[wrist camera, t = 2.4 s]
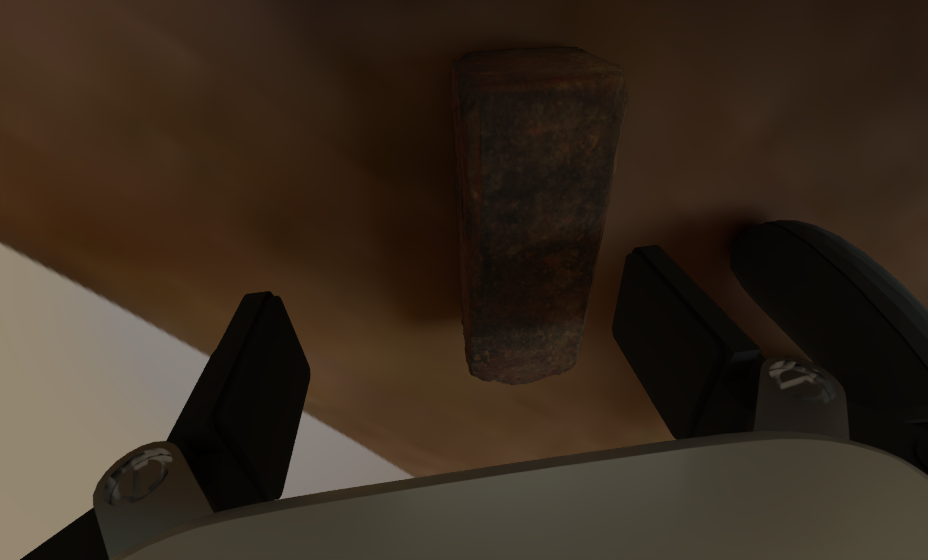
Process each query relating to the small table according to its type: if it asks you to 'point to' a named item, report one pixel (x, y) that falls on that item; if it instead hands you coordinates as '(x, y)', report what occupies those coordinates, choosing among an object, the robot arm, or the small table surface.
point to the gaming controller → (840, 313)
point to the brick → (531, 201)
